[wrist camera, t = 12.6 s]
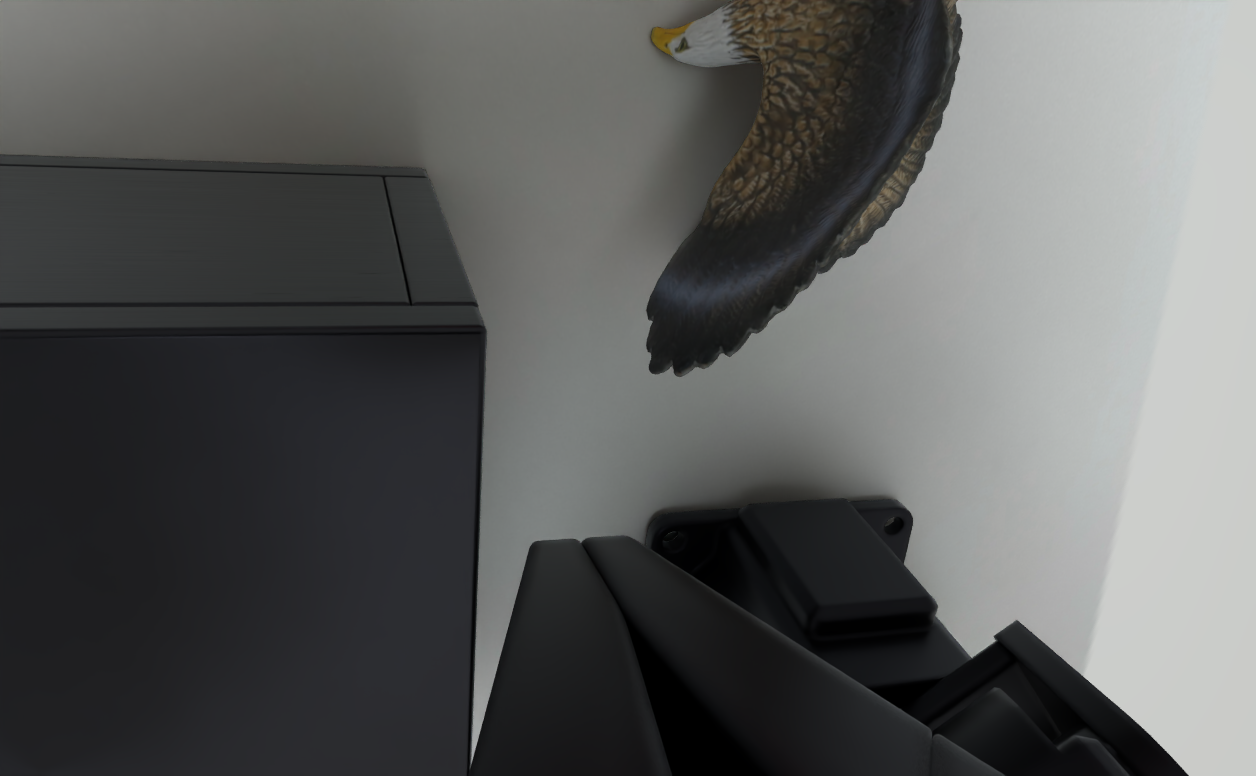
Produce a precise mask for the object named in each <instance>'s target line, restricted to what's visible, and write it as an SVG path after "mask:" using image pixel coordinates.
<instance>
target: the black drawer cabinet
mask: <svg viewBox="0 0 1256 776" xmlns="http://www.w3.org/2000/svg"><path fill="white" fill-rule="evenodd" d="M486 345H487V330H486V328H485V325H484V322H483V320H482V317H481V314H480V312H479V309H478V304H477V301H476V298H475V296H474V293H473V291H472V288H471V285H470V283H469V280H468V277H467V275H466V272H465V270H464V267H463V264H462V262H461V259H460V257H459V254H458V251H457V249H456V246H455V243H454V241H453V238H452V236H451V233H450V230H449V228H448V225H447V223H446V220H445V217H444V215H443V212H442V210H441V207H440V204H439V202H438V199H437V196H436V194H435V191H434V189H433V186H432V183H431V181H430V179H429V178H428V175H427V172H426V170H425V169H423V168H407V167H375V166H343V165H311V164H279V163H247V162H216V161H184V160H152V159H120V158H88V157H56V156H24V155H0V776H469V772H470V768H471V752H472V725H473V698H474V671H475V644H476V617H477V589H478V562H479V535H480V508H481V481H482V454H483V427H484V399H485V372H486Z"/></svg>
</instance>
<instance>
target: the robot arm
mask: <svg viewBox="0 0 1256 776" xmlns="http://www.w3.org/2000/svg"><path fill="white" fill-rule="evenodd" d="M893 517H895V519H894V521H893V522H892V523H891V524H890V525H888V526H885V524H886V522H887V521H888V520H889V519H891V518H893ZM912 526H913V517H912V515H911V513H910V512H909V511H908V510H907V508H906V507H905V506H904V505H903V504H902V503H900V502H899V501H897V500H892V499H886V500H870V501H853V502H848V501H847V500H846V499H825V500H809V501H792V502H775V503H759V504H749V505H747V506H745V507H743V508H738V509H722V510H706V511H689V512H673V513H667V514H663V515H661V516H659V517H658V518H656V519H655V520H654V521H653V522H652V523H651V524H650V526H649V528H648V532H647V537H646V546H644V545H643V544H641V543H639V542H638V541H636V540H635V539H633V538H631V537H629V536H624V535H620V536H606V537H591V538H587V539H585V540H583V541H582V543H580V542H579V541H578V540H576V539H561V540H545V541H536V542H534V543H532V545H531V546H530V548H529V552H528V556H527V560H526V563H525V567H524V571H523V575H522V578H521V582H520V586H519V589H518V593H517V597H516V601H515V604H514V608H513V612H512V616H511V619H510V623H509V627H508V630H507V634H506V638H505V642H504V645H503V649H502V653H501V657H500V660H499V664H498V668H497V671H496V675H495V679H494V683H493V686H492V690H491V694H490V698H489V701H488V705H487V709H486V712H485V716H484V720H483V724H482V727H481V731H480V735H479V739H478V742H477V746H476V750H475V753H474V757H473V761H472V765H471V768H470V772H469V776H1189V775H1188V774H1187V773H1186V772H1185V771H1184V770H1183V769H1182V768H1181V767H1180V766H1179V765H1178V764H1177V762H1176V761H1175V760H1174V759H1173V758H1172V757H1171V756H1170V755H1169V754H1168V753H1167V752H1166V751H1165V750H1164V749H1163V748H1162V747H1161V746H1160V745H1159V744H1158V743H1157V742H1156V741H1155V740H1154V739H1153V738H1152V737H1151V736H1150V735H1149V734H1148V733H1147V732H1146V731H1145V730H1144V729H1143V728H1142V727H1141V726H1140V725H1139V724H1137V723H1136V722H1135V721H1134V720H1133V719H1132V718H1131V717H1130V716H1129V715H1127V714H1126V713H1125V712H1124V711H1123V710H1122V709H1120V708H1119V707H1118V706H1117V705H1116V704H1115V703H1113V702H1112V701H1111V700H1110V699H1108V697H1106V696H1105V695H1104V694H1103V693H1102V692H1101V691H1099V690H1098V689H1097V688H1096V687H1095V686H1094V685H1092V684H1091V683H1090V682H1089V681H1088V680H1087V679H1085V678H1084V677H1083V676H1082V675H1081V674H1080V673H1078V672H1077V671H1076V670H1075V669H1074V668H1073V667H1071V666H1070V665H1069V664H1068V663H1067V662H1066V661H1064V660H1063V659H1062V658H1061V657H1060V656H1059V655H1057V654H1056V653H1055V652H1054V651H1053V650H1052V649H1050V648H1049V647H1048V646H1047V645H1046V644H1045V643H1043V642H1042V641H1041V640H1040V639H1039V638H1038V637H1036V636H1035V635H1034V634H1033V633H1032V632H1031V631H1029V630H1028V629H1027V628H1026V627H1025V626H1024V625H1022V624H1021V623H1020V622H1019V621H1017V620H1016V621H1014V622H1013V623H1012V624H1010V625H1009V626H1007V627H1006V628H1005V629H1003V630H1002V631H1000V632H999V633H997V634H996V635H995V636H994V638H995V640H996V641H995V642H994V643H993V644H991V645H990V646H988V647H987V648H986V649H984V650H983V651H981V652H980V653H978V654H977V655H976V656H974V657H973V658H971V657H970V656H969V655H968V653H967V652H966V651H965V650H964V649H963V648H962V646H961V645H960V644H959V643H958V642H957V641H956V639H955V638H954V637H953V636H952V635H951V634H950V632H949V631H948V630H947V629H946V628H945V627H944V625H943V624H942V623H941V622H940V621H939V620H938V618H937V617H936V616H935V615H936V611H937V607H938V605H937V603H936V601H935V600H934V599H933V598H932V596H931V595H930V594H929V593H928V592H927V591H926V590H925V588H924V587H923V586H922V585H921V584H920V583H919V582H918V580H917V579H916V578H915V577H914V576H913V575H912V574H911V572H910V571H909V570H908V569H907V568H906V567H905V566H904V560H905V556H906V552H907V547H908V543H909V539H910V535H911V530H912ZM674 531H676V532H678V535H677V536H676V537H675V538H674V539H673V540H670V541H663V539H664V537H665V536H666V535H667V534H668V533H671V532H674Z"/></svg>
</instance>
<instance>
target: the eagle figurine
mask: <svg viewBox="0 0 1256 776" xmlns="http://www.w3.org/2000/svg"><path fill="white" fill-rule="evenodd" d="M957 1H958V0H732V1H731V2H729V3H727V4H725V5H724V6H722V7H720V8H719V9H717V10H716V11H714V12H713V13H711V14H709V15H707V16H705V17H703V18H700V19H698V20H696V21H693V22H691V23H689V24H686V25H684V26H681V27H678V28H673V29H663V28H660V27H655V28H653V30H652V35H651V40H652V41H653V43H654V44H655V46H656V47H657V48H659V49H660V50H661V51H663V52H665V53H667V54H669V55H672V56H673V57H674V58H675V59H676V60H677V61H679V62H682V63H687V64H691V65H696V66H700V67H718V66H725V65H736V64H743V63H762V66H763V71H764V74H763V86H762V96H761V103H760V106H759V110H758V113H757V116H756V119H755V122H754V124H753V126H752V128H751V130H750V132H749V134H748V136H747V137H746V139H745V140H744V142H743V144H742V146H741V147H740V149H739V150H738V152H737V153H736V154H735V156H734V157H733V159H732V160H731V161H730V163H729V164H728V165H727V167H726V168H725V169H724V171H723V172H722V174H721V176H720V177H719V179H718V180H717V182H716V184H715V186H714V188H713V190H712V192H711V194H710V196H709V199H708V202H707V206H706V208H705V211H704V214H703V217H702V220H701V222H700V224H699V225H698V227H697V229H696V230H695V231H694V232H693V233H692V234H691V235H690V236H689V237H688V238H687V239H686V240H685V241H684V242H683V243H682V244H681V246H680V247H679V249H678V250H677V252H676V253H675V254H674V256H673V257H672V259H671V260H670V262H669V263H668V265H667V266H666V268H665V270H664V271H663V273H662V275H661V276H660V278H659V279H658V281H657V284H656V286H655V288H654V290H653V292H652V294H651V296H650V299H649V302H648V305H647V309H646V311H647V316H648V319H649V320H651V321H653V322H652V324H651V327H650V331H649V334H648V338H647V343H646V347H647V350H648V352H650V353H651V361H650V364H649V371H650V372H651V373H652V374H660V373H664V372H665V371H667V370H668V369H669V368H670V367H671V366H672V365H673V369H674V374H675V375H676V376H678V377H682V376H684V375H686V374H687V373H689V372H690V371H692V370H693V369H694V368H695V367H699V368H702V369H705V368H708V367H709V366H710V365H712V364H713V362H714V361H715V360H716V359H717V358H718V356H719V355H720V354H721V353H724V354H725V355H726V356H728V357H731V356H732V355H733V354H734V353H735V352H737V351H738V350H739V349H740V348H741V347H742V346H743V344H744V343H745V342H746V341H747V339H748V338H749V336H750V335H751V333H756V334H757V333H759V332H761V331H762V330H763V329H764V328H765V327H766V326H767V324H768V322H769V321H770V320H771V319H772V318H773V317H774V316H775V315H776V314H777V313H779V312H781V311H784V310H785V309H786V308H787V307H788V306H789V305H790V304H791V303H792V301H793V299H794V298H795V296H796V295H797V294H798V293H799V292H801V291H803V290H805V289H807V288H808V287H809V286H810V284H811V283H812V281H813V280H814V278H815V276H816V274H817V273H819V274H822V273H825V272H827V271H829V270H830V269H831V267H832V266H833V265H834V263H835V262H836V261H837V259H839V258H841V257H842V258H846V257H849V256H851V255H853V254H855V252H856V251H857V249H858V248H859V247H860V246H861V245H863V244H866V243H867V242H868V241H869V240H870V239H871V237H872V236H873V234H874V232H875V231H876V230H877V229H878V228H880V227H883V226H884V225H885V224H886V223H887V221H888V220H889V218H890V217H891V215H892V213H893V211H894V210H895V209H896V208H898V207H900V206H901V205H902V204H903V202H904V200H905V198H906V194H907V192H908V190H909V187H910V186H911V185H912V184H913V183H915V180H916V178H917V176H918V174H919V173H920V172H921V170H922V168H923V165H924V162H925V153H926V152H927V151H929V150H930V149H931V147H932V145H933V141H934V137H935V135H936V133H937V132H938V130H939V129H940V127H941V124H942V118H943V112H944V110H945V108H946V107H947V105H948V103H949V100H950V95H951V90H952V87H953V84H954V81H955V72H956V70H957V66H958V63H959V60H960V56H959V53H958V51H959V48H960V45H961V41H962V35H963V32H962V29H961V28H960V26H961V17H960V15H959V14H957V10H956V4H955V3H956V2H957Z"/></svg>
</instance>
